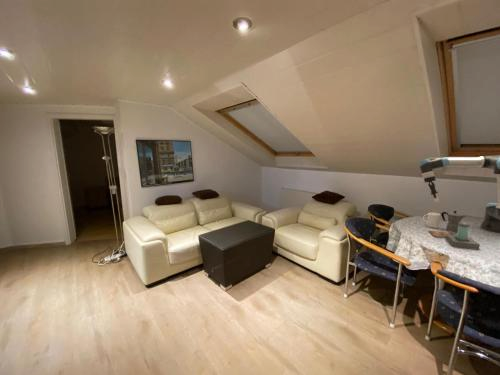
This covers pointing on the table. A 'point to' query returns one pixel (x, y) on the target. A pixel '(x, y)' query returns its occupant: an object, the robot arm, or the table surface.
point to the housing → (462, 242)
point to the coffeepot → (452, 221)
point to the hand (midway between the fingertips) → (437, 201)
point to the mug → (433, 220)
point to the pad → (440, 234)
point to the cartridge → (463, 231)
